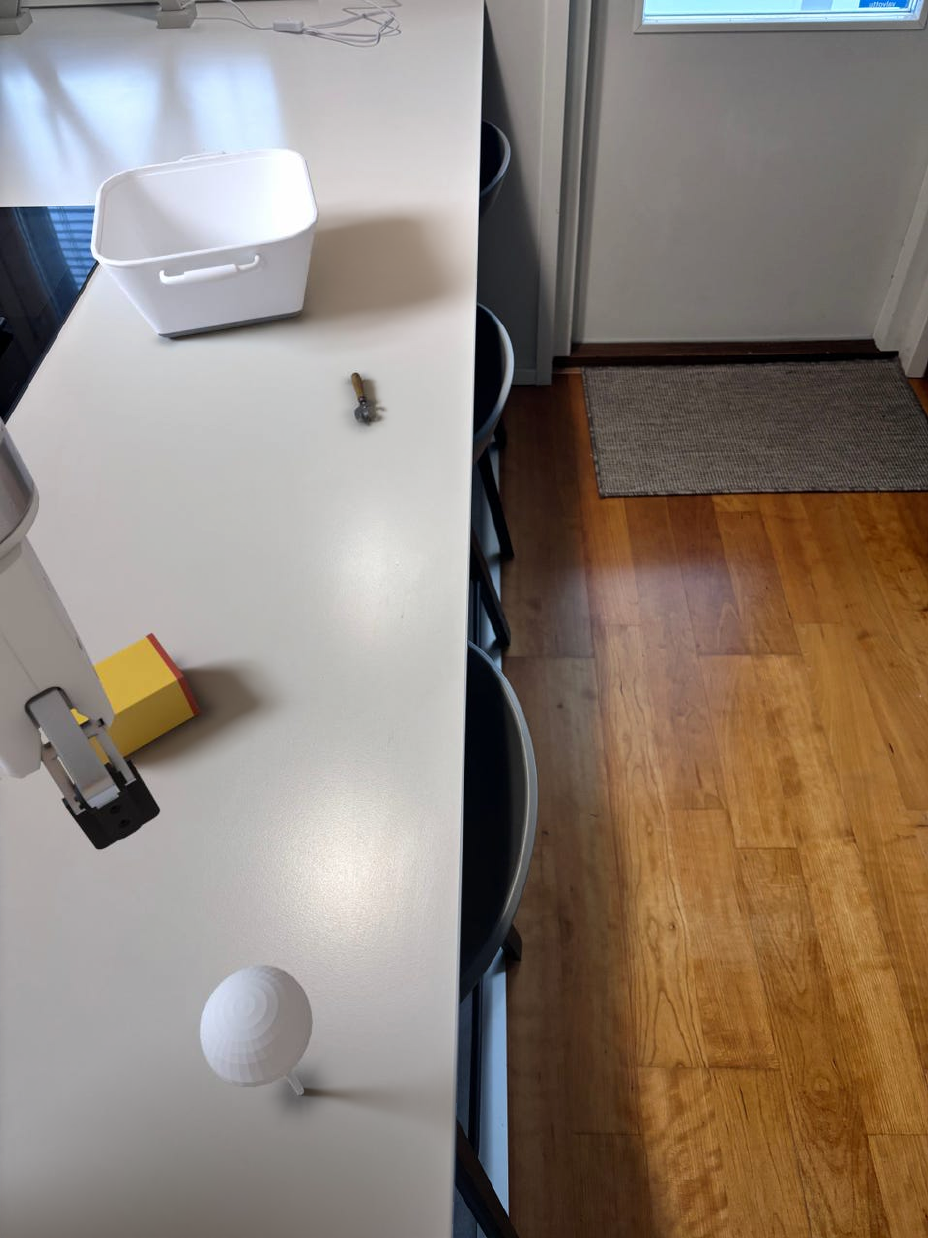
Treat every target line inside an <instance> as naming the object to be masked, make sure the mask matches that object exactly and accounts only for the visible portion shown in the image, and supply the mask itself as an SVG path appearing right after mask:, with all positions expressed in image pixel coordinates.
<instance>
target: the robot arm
mask: <svg viewBox="0 0 928 1238" xmlns="http://www.w3.org/2000/svg"><path fill="white" fill-rule="evenodd" d="M39 509H40V494H39V490H38V487H37V485H36V483H35V480H34V479H33V477H32V474H31V473H30V470H29V469H28V467H27V465H26V463H25V461H24V459H23V457H22V455H21V453H20V452H19V450H18V448H17V446H16V444H15V442H14V440H13V438H12V436H11V434H10V433H9V430H8V428H7V427H6V425H5V423H4V421H3V419H2V417H1V416H0V767H1V769H2V770H3V771H4V772H5V774H6V775H7V776H9V777H12V778H15V779H24V778H26V777H27V776H29V775H31V774H33V773H35V772H37V771H39V770H40V769H41V765H42V763H43V765H44V767H45V768H46V770H47V772H48V773H49V775H50V776H51V778H52V779H53V781H54V783H55V785H57V787H58V789H59V790H60V792H61V794H62V795H63V797H62V798H61V802H62V803H63V805H64V807H65V809H66V810H67V812H69V814H70V816H71V817H72V818H73V819H74V821H75V822H76V824H77V825H78V827H79V828H80V830H81V831H82V832H83V833H84V835H85V836H86V838H87V839H88V840H89V842H90V843H91V844H92V846H93V847H94V848H95V849H96V850H98V851H99V850H104V849H107V848H108V847H110V846H112V845H113V844H115V843H116V842H118V841H121V840H125V839H126V838H129V836H131V835H133V834H135V833H136V832H137V831H139V830H140V829H141V828H142V827H143V826H144V825H145V824H147V823H149V822H150V821H152V820H154V819H155V818H156V817H158V816H159V814H160V813H161V809H160V806H159V805H158V803H157V801H156V800H155V798H154V797H153V795H152V792H151V791H150V789H149V788H148V786H147V784H146V782H145V781H144V779H143V777H142V776H141V774H140V772H139V771H138V769H137V767H136V766H135V764H134V762H133V761H132V759H131V758H129V759H127V760H125V759H124V757H122V755H121V754H120V752H119V751H118V749H117V747H116V746H115V744H114V742H113V741H112V739H111V737H110V736H109V734H108V732H107V731H106V729H105V728H104V726H105V725H106V727H107V728H108V729H110V727H111V725H112V723H113V720H114V715H115V713H114V710H113V708H112V706H111V703H110V701H109V699H108V697H107V694H106V692H105V690H104V688H103V686H102V684H101V681H100V679H99V677H98V675H97V673H96V670H95V668H94V666H93V665H94V664H93V662H92V660H91V658H90V655H89V654H88V652H87V650H86V647H85V645H84V643H83V641H82V639H81V637H80V635H79V633H78V631H77V630H76V627H75V625H74V623H73V621H72V619H71V617H70V615H69V613H68V611H67V609H66V607H65V604H64V603H63V601H62V600H61V597H60V596H59V594H58V592H57V590H56V589H55V586H54V584H53V583H52V581H51V579H50V577H49V575H48V573H47V571H46V570H45V568H44V566H43V564H42V562H41V560H40V558H39V557H38V555H37V552H36V551H35V549H34V547H33V545H32V544H31V542H30V540H29V539H28V536H27V534H28V533H29V531H30V529H31V528H32V526H33V524H34V522H35V521H36V518H37V515H38V512H39ZM71 709H76V711H77V712H78V713H79V714H81V715H83V716H85V717H87V718H88V719H89V720H87V721H85V722H83V723H82V724H80V725H79V724H78V722H77V720H76V719H75V717H74V715H73V714H72V712H71ZM39 729H42V732H43V733H44V735H45V736H46V738H47V740H48V741H47V742H46V743H44V741H43V739H42V733H41V731H40V730H39ZM94 736H95V737H96V739H97V741H98V742H99V744H100V746H101V747H102V749H103V751H104V752H105V754H106V755H107V757H108V759H109V760H110V762H111V764H110V762H108V763H106V764H103V763H102V761H101V760H100V758H99V756H98V755H97V753H96V751H95V750H94V748H93V747H92V745H91V743H90V742H89V740H88V739H90V738H92V737H94ZM59 759H60V760H59Z"/></svg>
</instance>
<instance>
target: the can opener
mask: <svg viewBox="0 0 928 1238" xmlns="http://www.w3.org/2000/svg"><path fill="white" fill-rule="evenodd" d="M350 379H351V385H352V387H353V389H354V392H355V394H356V398H357V402H358V404H359V406H357V407H356V408H355V409H354V410H353V411H354V412H353V414H354V418H355V419H356V421H358V422H359V423H362V424H364V420H363V417H362V413H363V416H364V419H365V421H370V420H371V416H370V412H369V409H368V408H369V407H371V410H372V409H374V408H375V404H374V403H373V402H367V401H368V399H367V395H366V393H365V387H364V383H363V380H362V378H361V375H360V374H359V372H352V373H351V375H350Z"/></svg>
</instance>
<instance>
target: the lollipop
mask: <svg viewBox="0 0 928 1238" xmlns="http://www.w3.org/2000/svg"><path fill="white" fill-rule="evenodd" d="M313 1024H314V1023H313V1011H312V1007H311V1003H310V1000H309V997H308V995H307V993H306V991H305V990H304V988H303V986H302V985H301V984H300V982H299V981H298V980H297V979H296V978H295V977H294V976H293V975H291V974H290V973H288V972H287V970H284V969H282V968H279V967H277V966H272V965H267V964H264V965H262V964H261V965H260V964H259V965H257V964H256V965H252V966H247V967H244V968H242V969H240V970H237V971H234V973H232V974H231V975H229V976H228V977H226V978H225V979H224V980H223V981H222V982H221V983H220V984H218V986H216V988H215V989H214V990H213V992H212V993H211V995H210V996H209V998H208V999H207V1001H206V1003H205V1005H204V1009H203V1010H202V1014H201V1019H200V1025H199V1039H200V1045H201V1048H202V1052H203V1055H204V1057H205V1058H206V1059H205V1060H206V1061H207V1063H208V1065H209V1067H210V1068H211V1069H212V1070H213V1072H214V1073H215V1074H216V1075H217V1076H218V1077H219V1078H221V1080H223V1081H225V1082H227V1083H229V1084H231V1085H234V1086H237V1087H242V1088H256V1087H261V1086H265V1085H270V1084H272V1083H274V1082H276V1081H278V1080H280V1079H282V1078H283V1077H285V1078H286V1080H287V1081H288V1083H290V1085H291V1087H292V1088H293V1090H294V1091H295V1093H296V1094H297V1095H298V1096H302V1095H304V1093H305V1089H304V1088H303V1087H304V1086H303V1085H302V1084H301V1082H300V1081H299V1079H298V1077H297V1076H296V1075H295V1073H294V1072H293V1069H294V1068H295V1067H296V1066H297V1065H298V1064H299V1062H300V1061H301V1060H302V1058H303V1056H304V1054H305V1053H306V1051H307V1049H308V1046H309V1044H310V1041H311V1036H312V1033H313Z"/></svg>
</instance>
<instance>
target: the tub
mask: <svg viewBox="0 0 928 1238" xmlns="http://www.w3.org/2000/svg"><path fill="white" fill-rule="evenodd" d="M319 215H320V212H319V208H318V205H317V200H316V196H315V192H314V188H313V184H312V179H311V176H310V172H309V167H308V162H307V160H306V158H305V157H304V156H303V154H301V153H300V152H298V151H295V150H293V149H290V148H282V147H267V148H266V147H265V148H256V149H250V150H249V149H248V150H243V151H236V152H235V151H234V152H225V151H224V150H221V151H220V150H219V151H209V152H202V153H195V154H189V155H185V156H181V157H180V159H178V160H174V161H168V162H162V163H156V164H149V165H142V166H138V167H133V168H129V169H125V170H122V171H120V172H118V173H115V174H113V175H111V176H109V177H108V178H106V179H104V181H102V182H101V184H100V185H99V187H98V189H97V191H96V195H95V206H94V214H93V223H92V231H91V232H92V233H91V240H90V241H91V242H90V251H91V254H92V257H93V259H95V260H96V261H97V262H98V263H99V264H100V265H101V266H102V267H103V269H104V270H105V271H106V272H107V274H108V275H109V276H110V277H111V278H112V280H113V281H114V282H115V284H117V286H118V287H119V288H120V290H121V291H122V292H123V293H124V294H125V296H126V297H127V298H128V300H129V301H130V302H131V303H132V305H133V306H134V307H135V309H137V311H138V312H139V313H140V314H141V315H142V317H143V318H144V319H145V320H146V321H147V323H148V324H149V326H151V328H152V329H153V330H154V332H155V333H156V334H158V336H160V337H163V338H168V339H170V338H176V337H183V336H187V335H188V336H189V335H194V334H200V333H206V332H212V331H219V330H226V329H232V328H236V327H243V326H247V325H248V326H249V325H254V324H260V323H261V324H262V323H266V322H272V321H278V320H279V321H280V320H284V319H289V318H294V317H297V316H299V315H300V314H301V312H302V311H303V310H302V309H303V308H304V302H305V301H304V300H305V296H306V295H305V294H306V288H307V282H308V277H309V276H308V275H309V270H310V264H311V258H312V251H313V244H314V239H315V231H316V227H317V224H318V221H319Z"/></svg>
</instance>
